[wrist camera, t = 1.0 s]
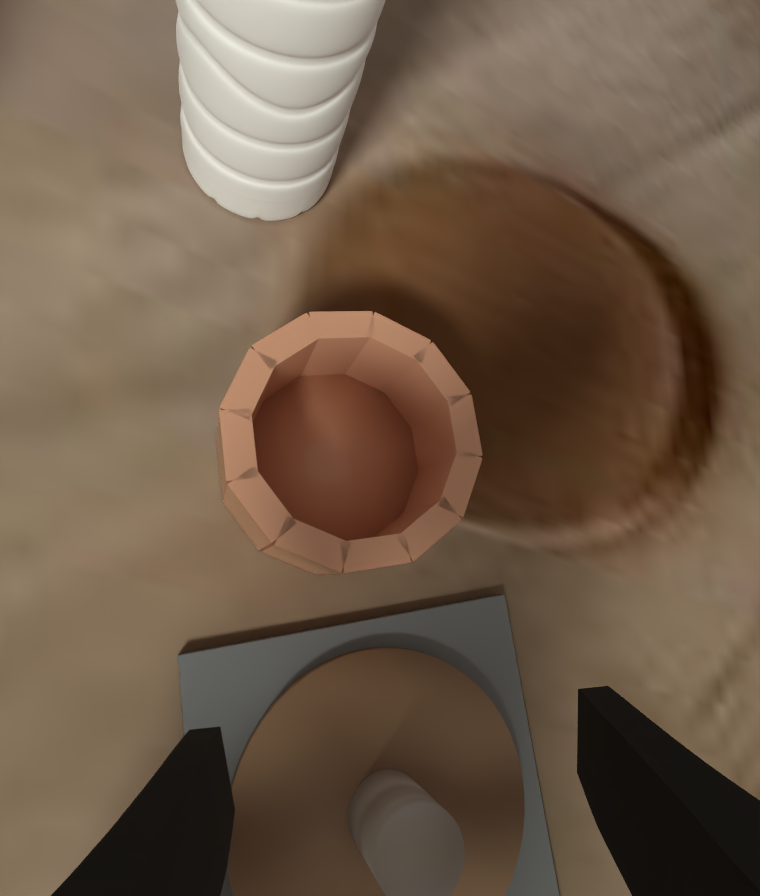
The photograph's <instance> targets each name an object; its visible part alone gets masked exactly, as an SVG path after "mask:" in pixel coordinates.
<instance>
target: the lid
mask: <svg viewBox="0 0 760 896" xmlns="http://www.w3.org/2000/svg"><path fill="white" fill-rule="evenodd" d="M231 789H232V795H233V801H234V806H235V814H234V822H233V830H232V837H231V845H230V851H229V858H228V865H227V868H228V875H229V881H230V886H231V890H232V893H233V896H505V895H506V892H507V890H508V887H509V885H510V883H511V880H512V878H513V874H514V871H515V868H516V864H517V861H518V858H519V853H520V848H521V842H522V837H523V828H524V816H525V803H524V786H523V778H522V771H521V767H520V762H519V758H518V754H517V751H516V748H515V745H514V742H513V739H512V737H511V734H510V732H509V730H508V728H507V726H506V724H505V722H504V720H503V718H502V716H501V714H500V713H499V711H498V710H497V708H496V707H495V705H494V704H493V702H492V701H491V700H490V698H489V697H488V696H487V695H486V694H485V693H484V691H483V690H482V689H481V688H480V687H479V686H478V685H477V684H476V683H475V682H474V681H473V680H471V679H470V678H469V677H468V676H467V675H466V674H464V673H463V672H461V671H460V670H458V669H457V668H455V667H454V666H452V665H451V664H448V663H446V662H444V661H442V660H440V659H438V658H436V657H433V656H430V655H427V654H424V653H421V652H417V651H414V650H409V649H403V648H397V647H374V648H367V649H359V650H356V651H352V652H349V653H345V654H342V655H339V656H337V657H334V658H332V659H330V660H327V661H325V662H323V663H321V664H320V665H318V666H316V667H315V668H313V669H311V670H310V671H308V672H306V673H305V674H304V675H303V676H301V677H300V678H299V679H297V680H296V681H295V682H294V683H292V684H291V685H290V686H289V687H288V688H287V689H286V690H285V691H284V692H283V693H282V694H281V695H280V696H279V697H278V698H277V699H276V700H275V701H274V702H273V704H272V705H271V706H270V707H269V709H268V710H267V711H266V712H265V714H264V715H263V716H262V718H261V719H260V721H259V722H258V724H257V726H256V727H255V729H254V730H253V732H252V734H251V735H250V737H249V739H248V741H247V743H246V746H245V748H244V750H243V752H242V754H241V756H240V758H239V761H238V764H237V767H236V770H235V773H234V776H233V779H232V783H231Z"/></svg>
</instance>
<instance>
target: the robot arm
mask: <svg viewBox="0 0 760 896" xmlns="http://www.w3.org/2000/svg"><path fill="white" fill-rule="evenodd" d="M577 773H578V776H579V779H580V781H581V784H582V787H583V790H584V792H585V795H586V798H587V801H588V803H589V806H590V808H591V811H592V814H593V816H594V819H595V821H596V824H597V826H598V828H599V830H600V832H601V835H602V837H603V839H604V841H605V843H606V845H607V847H608V849H609V851H610V853H611V855H612V857H613V859H614V861H615V863H616V865H617V867H618V869H619V871H620V873H621V875H622V876H623V878H624V880H625V882H626V884H627V886H628V888H629V890H630V892H631V894H632V896H760V800H758V799H757V798H755V797H754V796H752V795H751V794H749V793H748V792H747V791H745V790H744V789H742V788H741V787H739V786H738V785H736V784H735V783H734V782H732V781H731V780H729V779H728V778H726V777H725V776H723V775H722V774H721V773H719V772H718V771H717V770H715V769H714V768H712V767H711V766H710V765H708V764H707V763H706V762H704V761H703V760H702V759H700V758H699V757H698V756H696V755H695V754H693V753H692V752H691V751H690V750H688V749H687V748H686V747H684V746H683V745H682V744H680V743H679V742H678V741H677V740H675V739H674V738H673V737H671V736H670V735H669V734H668V733H666V732H665V731H664V730H663V729H661V728H660V727H659V726H657V725H656V724H655V723H654V722H652V721H651V720H650V719H649V718H647V717H646V716H645V715H644V714H643V713H641V712H640V711H639V710H638V709H636V708H635V707H634V706H633V705H631V704H630V703H629V702H628V701H626V700H625V699H624V698H623V697H621V696H620V695H619V694H618V693H616V692H615V691H614V690H613V689H611V688H610V687H609V686H603V687H594V688H584V689H578V749H577ZM234 814H235V806H234V801H233V795H232V789H231V784H230V778H229V772H228V767H227V761H226V756H225V750H224V744H223V739H222V733H221V727H211V728H201V729H191V730H189V731H188V732H187V733H186V734H185V735H184V737H183V738H182V739H181V741H180V742H179V743H178V744H177V746H176V747H175V748H174V750H173V751H172V752H171V754H170V755H169V756H168V757H167V759H166V760H165V761H164V763H163V764H162V765H161V767H160V768H159V769H158V771H157V772H156V773H155V774H154V776H153V777H152V778H151V780H150V781H149V782H148V783H147V785H146V786H145V787H144V789H143V790H142V791H141V792H140V794H139V795H138V796H137V797H136V799H135V800H134V801H133V802H132V803H131V805H130V806H129V807H128V808H127V810H126V811H125V812H124V813H123V815H122V816H121V817H120V818H119V820H118V821H117V822H116V823H115V824H114V826H113V827H112V828H111V829H110V830H109V832H108V833H107V834H106V835H105V836H104V837H103V838H102V840H101V841H100V842H99V843H98V844H97V845H96V846H95V848H94V849H93V850H92V851H91V852H90V853H89V854H88V856H87V857H86V858H85V859H84V860H83V861H82V862H81V864H80V865H79V866H78V867H77V868H76V869H75V870H74V871H73V873H72V874H71V875H70V876H69V877H68V878H67V879H66V880H65V881H64V882H63V883H62V884H61V885H60V887H59V888H58V889H57V890H56V891H55V892H54V893H53V894H52V895H51V896H220V895H221V891H222V887H223V883H224V879H225V874H226V870H227V865H228V858H229V851H230V845H231V837H232V830H233V822H234Z"/></svg>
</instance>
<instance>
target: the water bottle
mask: <svg viewBox="0 0 760 896" xmlns="http://www.w3.org/2000/svg"><path fill="white" fill-rule="evenodd" d="M385 1H386V0H176V4H177V7H178V10H179V12H178V17H177V25H176V36H177V48H178V53H179V58H180V65H179V92H180V98H181V102H182V104H181V114H180V120H181V127H182V145H183V152H184V156H185V159H186V162H187V166H188V168H189V171H190V173H191V175H192V176H193V178H194V180H195V181H196V183H197V184H198V185H199V187H200V188H201V189H202V190H203V191H204V192H205V193H206V194H207V195H208V196H209V197H212V198H214V199H215V200H216V202H217V203H218V204H219V205H221V206H222V207H224V208H225V209H227V210H229V211H231V212H233V213H235V214H238V215H240V216H243V217H247V218H257V217H258V218H260V219H262V220H265V221H277V220H284V219H289V218H292V217H295V216H296V215H298V214H299V213H300V212H305V211H307V210H308V209H310V208H311V207H312V206H314V205H315V204H316V203H317V202H318V200H319V199H320V198H321V197H322V195H323V194H324V192H325V190H326V188H327V186H328V183H329V181H330V178H331V175H332V172H333V168H334V165H335V162H336V158H337V155H338V151H339V145H340V143H341V141H342V138H343V135H344V132H345V129H346V126H347V122H348V118H349V114H350V108H351V106H352V104H353V102H354V99H355V96H356V94H357V91H358V88H359V85H360V81H361V78H362V74H363V70H364V66H365V61H366V57H367V55H368V53H369V51H370V48H371V46H372V43H373V40H374V36H375V32H376V27H377V21H378V19H379V17H380V15H381V12H382V10H383V7H384V4H385Z"/></svg>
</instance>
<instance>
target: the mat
mask: <svg viewBox="0 0 760 896" xmlns="http://www.w3.org/2000/svg"><path fill="white" fill-rule="evenodd" d="M374 647H397V648H403V649H409V650H414V651H417V652H421V653H424V654H427V655H430V656H433V657H436V658H438V659H440V660H442V661H444V662H446V663H448V664H451V665H452V666H454V667H455V668H457V669H458V670H460V671H461V672H463V673H464V674H466V675H467V676H468V677H469V678H470V679H471V680H473V681H474V682H475V683H476V684H477V685H478V686H479V687H480V688H481V689H482V690H483V691H484V693H485V694H486V695H487V696H488V697H489V698H490V700H491V701H492V702H493V704H494V705H495V707H496V708H497V710H498V711H499V713H500V714H501V716H502V718H503V720H504V722H505V724H506V726H507V728H508V730H509V732H510V734H511V737H512V739H513V742H514V745H515V748H516V751H517V754H518V758H519V762H520V767H521V771H522V778H523V786H524V803H525V816H524V828H523V837H522V842H521V848H520V853H519V858H518V861H517V864H516V868H515V871H514V874H513V878H512V880H511V883H510V885H509V887H508V890H507V892H506V895H505V896H559V891H558V885H557V880H556V874H555V869H554V863H553V858H552V852H551V847H550V841H549V836H548V830H547V825H546V819H545V814H544V808H543V803H542V797H541V792H540V786H539V781H538V775H537V770H536V764H535V759H534V753H533V748H532V742H531V737H530V731H529V726H528V720H527V715H526V709H525V704H524V698H523V693H522V687H521V682H520V676H519V671H518V665H517V660H516V654H515V649H514V643H513V638H512V632H511V627H510V621H509V616H508V610H507V605H506V599H505V595H494V596H488V597H483V598H478V599H472V600H467V601H461V602H456V603H451V604H445V605H440V606H434V607H429V608H424V609H418V610H413V611H408V612H402V613H397V614H391V615H386V616H381V617H375V618H370V619H364V620H359V621H354V622H348V623H343V624H338V625H332V626H327V627H321V628H316V629H311V630H305V631H300V632H294V633H289V634H284V635H278V636H273V637H268V638H262V639H257V640H251V641H246V642H241V643H235V644H230V645H224V646H219V647H214V648H208V649H203V650H198V651H192V652H187V653H181V654H178V662H179V674H180V687H181V699H182V712H183V725H184V735H185V734H186V733H187V732H188V731H189V730H191V729H201V728H211V727H221V733H222V739H223V744H224V750H225V756H226V761H227V767H228V772H229V778H230V784H231V783H232V779H233V776H234V773H235V770H236V767H237V764H238V761H239V758H240V756H241V754H242V752H243V750H244V748H245V746H246V743H247V741H248V739H249V737H250V735H251V734H252V732H253V730H254V729H255V727H256V726H257V724H258V722H259V721H260V719H261V718H262V716H263V715H264V714H265V712H266V711H267V710H268V709H269V707H270V706H271V705H272V704H273V702H274V701H275V700H276V699H277V698H278V697H279V696H280V695H281V694H282V693H283V692H284V691H285V690H286V689H287V688H288V687H289V686H290V685H291V684H292V683H294V682H295V681H296V680H297V679H299V678H300V677H301V676H303V675H304V674H305V673H306V672H308V671H310V670H311V669H313V668H315V667H316V666H318V665H320V664H321V663H323V662H325V661H327V660H330V659H332V658H334V657H337V656H339V655H342V654H345V653H349V652H352V651H356V650H359V649H367V648H374ZM220 896H233V893H232V890H231V886H230V881H229V875H228V868H227V870H226V874H225V879H224V883H223V887H222V891H221V895H220Z"/></svg>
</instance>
